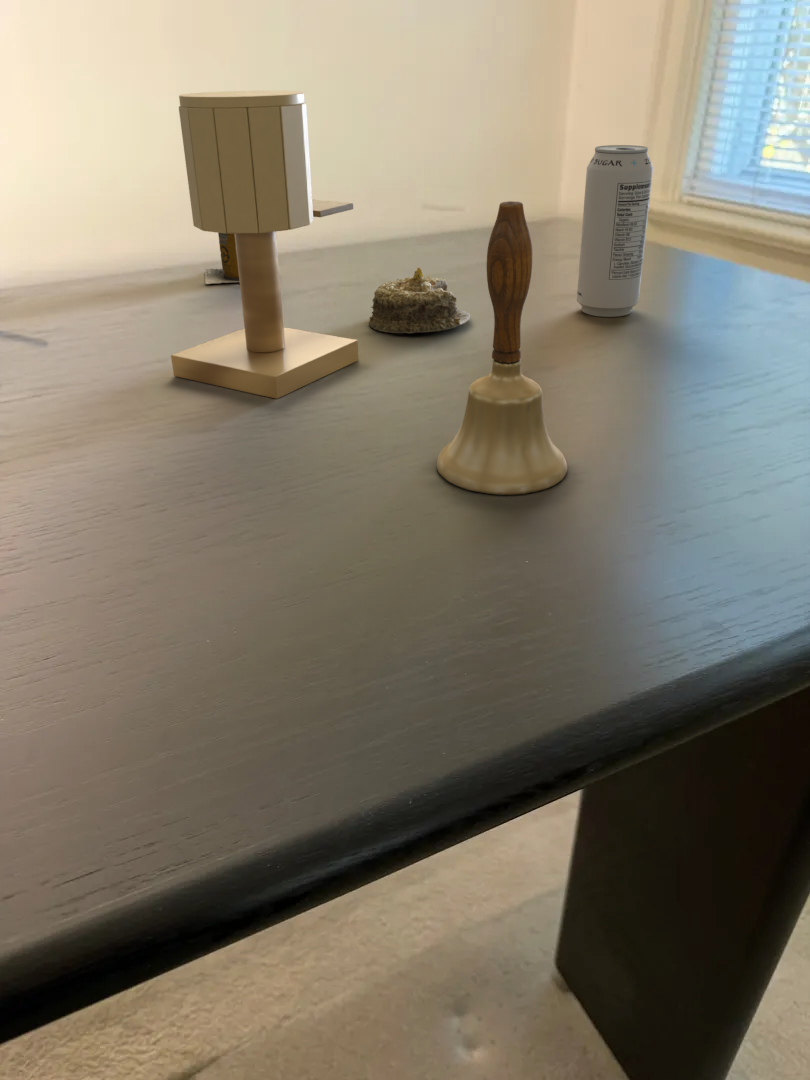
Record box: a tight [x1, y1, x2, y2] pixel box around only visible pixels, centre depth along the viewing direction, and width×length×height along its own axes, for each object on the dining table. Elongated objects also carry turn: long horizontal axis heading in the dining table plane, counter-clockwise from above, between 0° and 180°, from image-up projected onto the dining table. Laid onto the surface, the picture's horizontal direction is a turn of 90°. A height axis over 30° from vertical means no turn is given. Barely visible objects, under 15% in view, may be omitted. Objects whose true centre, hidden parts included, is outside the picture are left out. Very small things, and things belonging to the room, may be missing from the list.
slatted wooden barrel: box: [178, 90, 354, 234], centre depth 68 cm, size 9×13×9 cm
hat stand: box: [170, 231, 359, 400], centre depth 70 cm, size 11×11×20 cm
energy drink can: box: [576, 144, 654, 318], centre depth 85 cm, size 6×6×15 cm
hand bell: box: [436, 200, 568, 496], centre depth 53 cm, size 8×8×16 cm
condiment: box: [204, 233, 240, 285], centre depth 102 cm, size 7×8×12 cm
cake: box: [368, 267, 472, 335], centre depth 85 cm, size 10×10×5 cm
